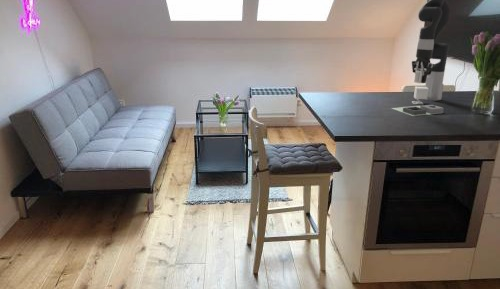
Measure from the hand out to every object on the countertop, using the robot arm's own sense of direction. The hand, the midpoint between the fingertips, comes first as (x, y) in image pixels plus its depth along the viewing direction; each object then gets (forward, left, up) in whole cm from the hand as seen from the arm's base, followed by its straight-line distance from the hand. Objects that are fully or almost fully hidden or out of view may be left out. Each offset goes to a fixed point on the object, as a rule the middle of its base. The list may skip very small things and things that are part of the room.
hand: (419, 81), depth 212 cm
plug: (0, 0, 0) cm, 0 cm away
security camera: (-14, -13, -16) cm, 25 cm away
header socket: (+4, +4, -15) cm, 16 cm away
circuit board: (0, +1, -16) cm, 16 cm away
